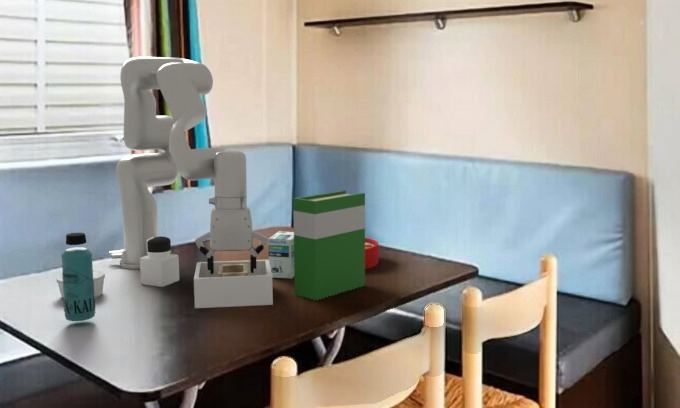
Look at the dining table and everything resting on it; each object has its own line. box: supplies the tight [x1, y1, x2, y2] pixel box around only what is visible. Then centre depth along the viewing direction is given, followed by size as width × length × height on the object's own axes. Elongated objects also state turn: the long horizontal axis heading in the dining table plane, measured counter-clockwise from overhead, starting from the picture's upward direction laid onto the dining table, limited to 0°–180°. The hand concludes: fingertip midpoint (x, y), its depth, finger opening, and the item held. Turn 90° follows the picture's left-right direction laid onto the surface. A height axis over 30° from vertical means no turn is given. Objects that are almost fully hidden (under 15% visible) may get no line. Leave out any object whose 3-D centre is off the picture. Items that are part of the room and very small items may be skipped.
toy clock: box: [365, 237, 379, 270], centre depth 212 cm, size 20×6×20 cm
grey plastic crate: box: [193, 259, 274, 309], centre depth 178 cm, size 18×16×7 cm
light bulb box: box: [267, 230, 294, 280], centre depth 199 cm, size 11×7×11 cm, turn 168°
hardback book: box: [292, 189, 366, 301], centre depth 182 cm, size 18×7×24 cm, turn 137°
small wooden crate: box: [218, 264, 248, 277], centre depth 178 cm, size 7×9×6 cm
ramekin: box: [56, 269, 106, 299], centre depth 180 cm, size 11×11×5 cm
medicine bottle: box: [139, 235, 180, 288], centre depth 190 cm, size 7×7×12 cm
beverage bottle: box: [60, 232, 96, 322], centre depth 157 cm, size 6×7×20 cm
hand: (232, 272), depth 178 cm, fingers open, 9 cm apart
